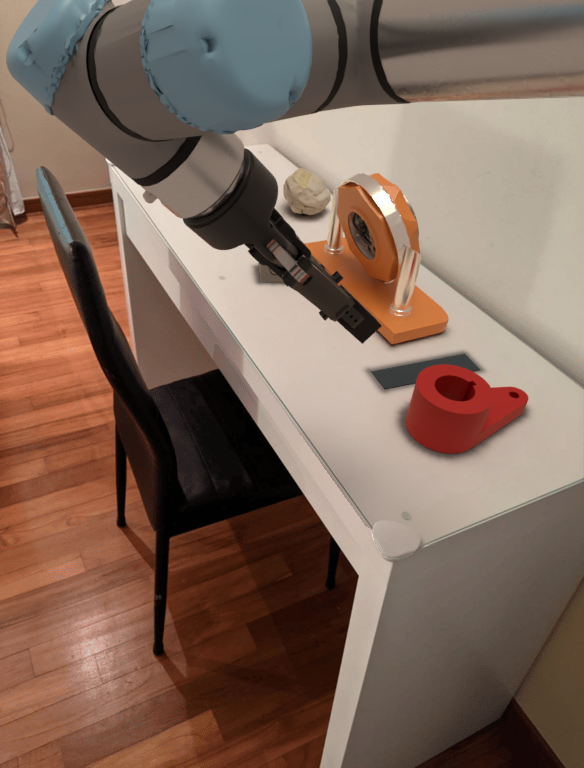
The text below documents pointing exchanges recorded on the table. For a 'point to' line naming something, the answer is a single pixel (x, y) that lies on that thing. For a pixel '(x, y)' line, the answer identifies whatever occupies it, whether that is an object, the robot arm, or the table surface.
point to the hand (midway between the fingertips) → (368, 330)
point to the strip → (418, 370)
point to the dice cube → (268, 274)
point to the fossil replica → (306, 192)
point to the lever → (459, 408)
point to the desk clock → (379, 257)
